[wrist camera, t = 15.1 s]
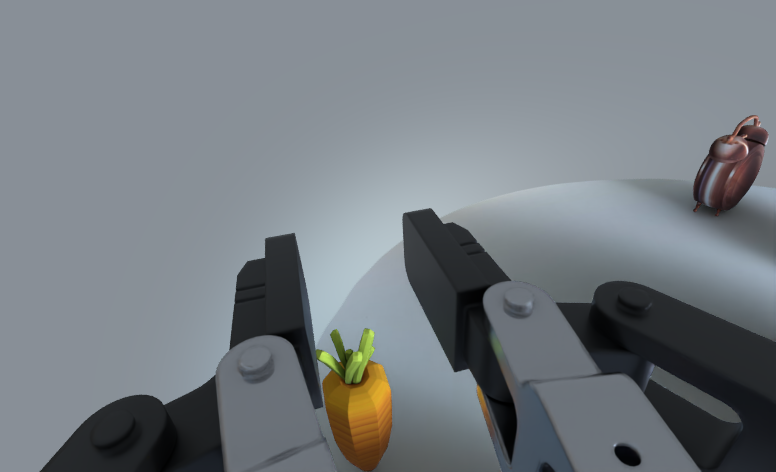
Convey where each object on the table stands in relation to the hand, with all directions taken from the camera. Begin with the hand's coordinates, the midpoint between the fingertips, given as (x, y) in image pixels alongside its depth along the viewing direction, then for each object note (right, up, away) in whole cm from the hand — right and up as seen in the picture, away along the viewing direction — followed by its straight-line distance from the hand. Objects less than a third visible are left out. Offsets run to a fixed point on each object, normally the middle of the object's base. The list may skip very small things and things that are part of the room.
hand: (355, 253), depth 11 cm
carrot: (-1, -19, +23) cm, 30 cm away
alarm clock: (+54, +5, +55) cm, 77 cm away
